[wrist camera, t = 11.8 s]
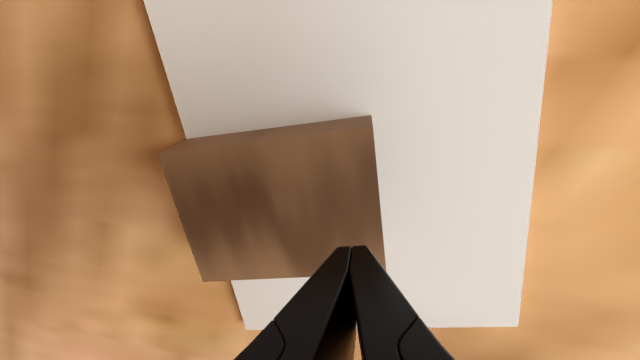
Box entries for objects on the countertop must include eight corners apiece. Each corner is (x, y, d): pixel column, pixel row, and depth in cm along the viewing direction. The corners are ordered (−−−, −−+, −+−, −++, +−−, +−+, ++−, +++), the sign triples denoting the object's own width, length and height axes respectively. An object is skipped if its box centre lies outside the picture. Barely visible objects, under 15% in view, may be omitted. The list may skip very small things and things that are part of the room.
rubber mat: (512, 316, 16) (517, 326, 15) (249, 321, 18) (246, 330, 18) (557, -149, 9) (569, -161, 9) (138, -47, 12) (127, -52, 11)
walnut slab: (386, 273, 13) (201, 281, 14) (383, 245, 14) (219, 254, 16) (372, 126, 10) (155, 153, 12) (371, 115, 12) (183, 139, 14)
